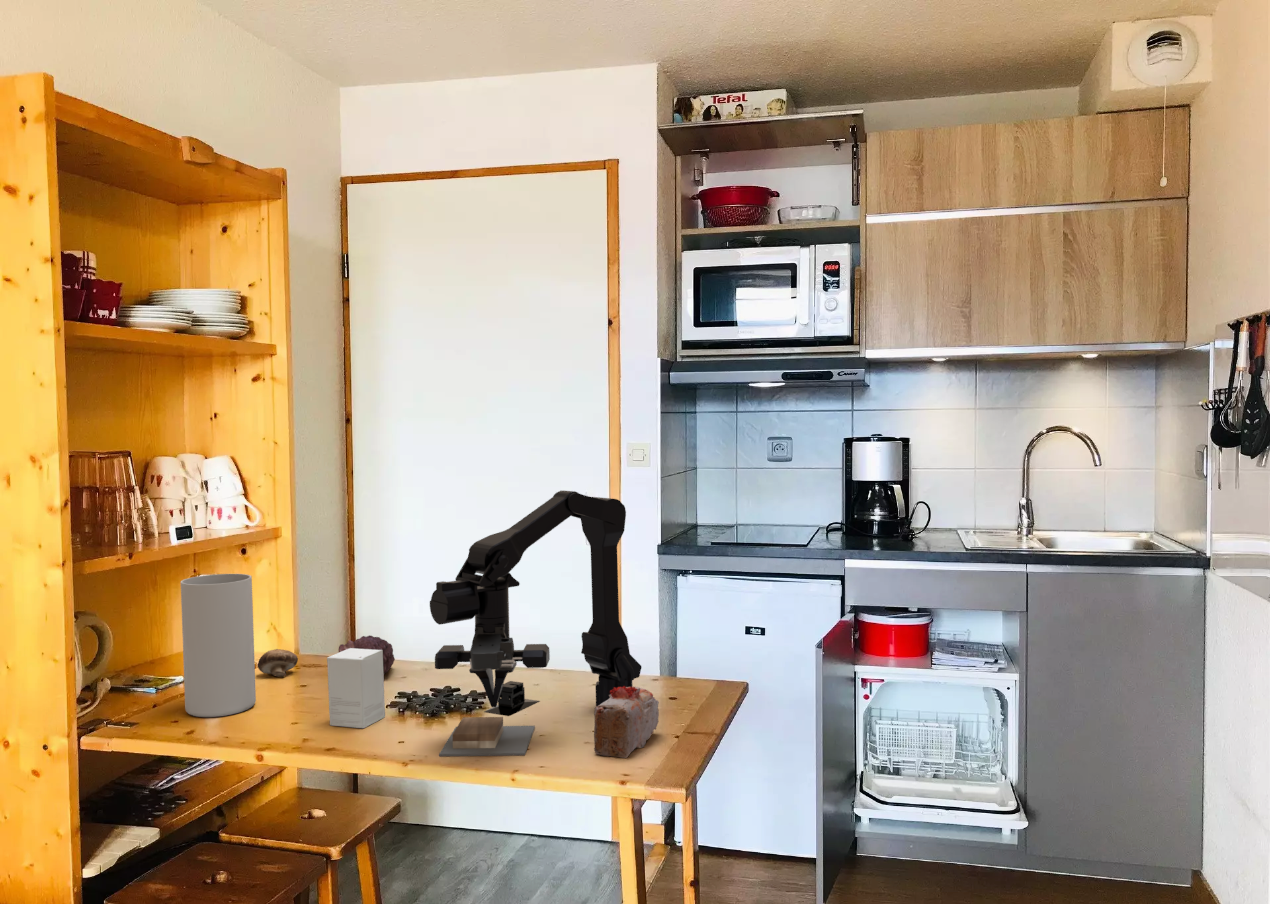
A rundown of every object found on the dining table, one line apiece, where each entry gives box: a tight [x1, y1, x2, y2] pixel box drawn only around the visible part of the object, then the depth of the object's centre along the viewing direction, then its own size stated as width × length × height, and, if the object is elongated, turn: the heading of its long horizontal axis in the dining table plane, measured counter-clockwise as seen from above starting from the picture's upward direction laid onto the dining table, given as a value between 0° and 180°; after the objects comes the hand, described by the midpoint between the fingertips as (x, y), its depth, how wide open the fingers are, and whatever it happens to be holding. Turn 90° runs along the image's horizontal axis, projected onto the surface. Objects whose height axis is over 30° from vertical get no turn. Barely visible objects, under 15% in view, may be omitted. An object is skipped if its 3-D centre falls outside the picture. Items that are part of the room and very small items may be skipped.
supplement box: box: [326, 648, 386, 729], centre depth 181 cm, size 7×7×13 cm
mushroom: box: [257, 648, 299, 678], centre depth 214 cm, size 8×8×6 cm
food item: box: [593, 686, 660, 759], centre depth 166 cm, size 14×8×10 cm, turn 161°
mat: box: [438, 725, 536, 757], centre depth 168 cm, size 14×14×1 cm
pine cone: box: [338, 635, 396, 675], centre depth 210 cm, size 18×10×10 cm
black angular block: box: [483, 680, 541, 717], centre depth 188 cm, size 13×8×5 cm, turn 152°
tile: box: [451, 716, 504, 748], centre depth 168 cm, size 2×9×7 cm
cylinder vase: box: [180, 573, 257, 718], centre depth 190 cm, size 12×12×25 cm
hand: (494, 706), depth 168 cm, fingers closed
